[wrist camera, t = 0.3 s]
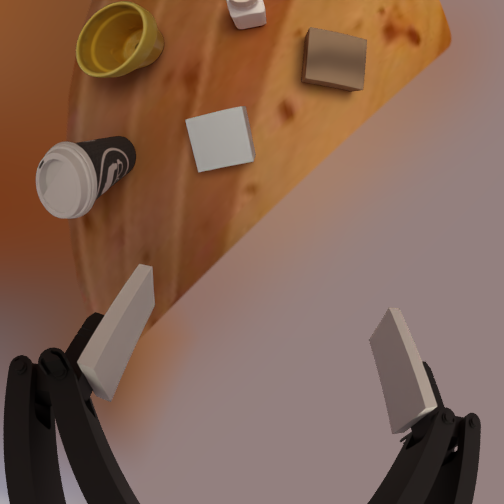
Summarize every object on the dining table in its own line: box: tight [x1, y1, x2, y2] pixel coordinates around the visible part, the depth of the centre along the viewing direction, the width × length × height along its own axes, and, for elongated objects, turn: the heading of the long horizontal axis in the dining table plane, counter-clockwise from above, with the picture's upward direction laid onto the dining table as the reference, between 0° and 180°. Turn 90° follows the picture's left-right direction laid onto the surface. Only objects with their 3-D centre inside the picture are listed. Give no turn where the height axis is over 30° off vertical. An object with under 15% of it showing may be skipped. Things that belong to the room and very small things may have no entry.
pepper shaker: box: [226, 0, 266, 29], centre depth 21 cm, size 4×4×10 cm
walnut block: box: [301, 27, 367, 91], centre depth 26 cm, size 7×7×5 cm
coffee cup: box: [36, 136, 136, 219], centre depth 30 cm, size 10×10×15 cm
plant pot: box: [76, 1, 164, 78], centre depth 23 cm, size 10×10×10 cm
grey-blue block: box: [185, 106, 256, 172], centre depth 32 cm, size 7×7×5 cm
